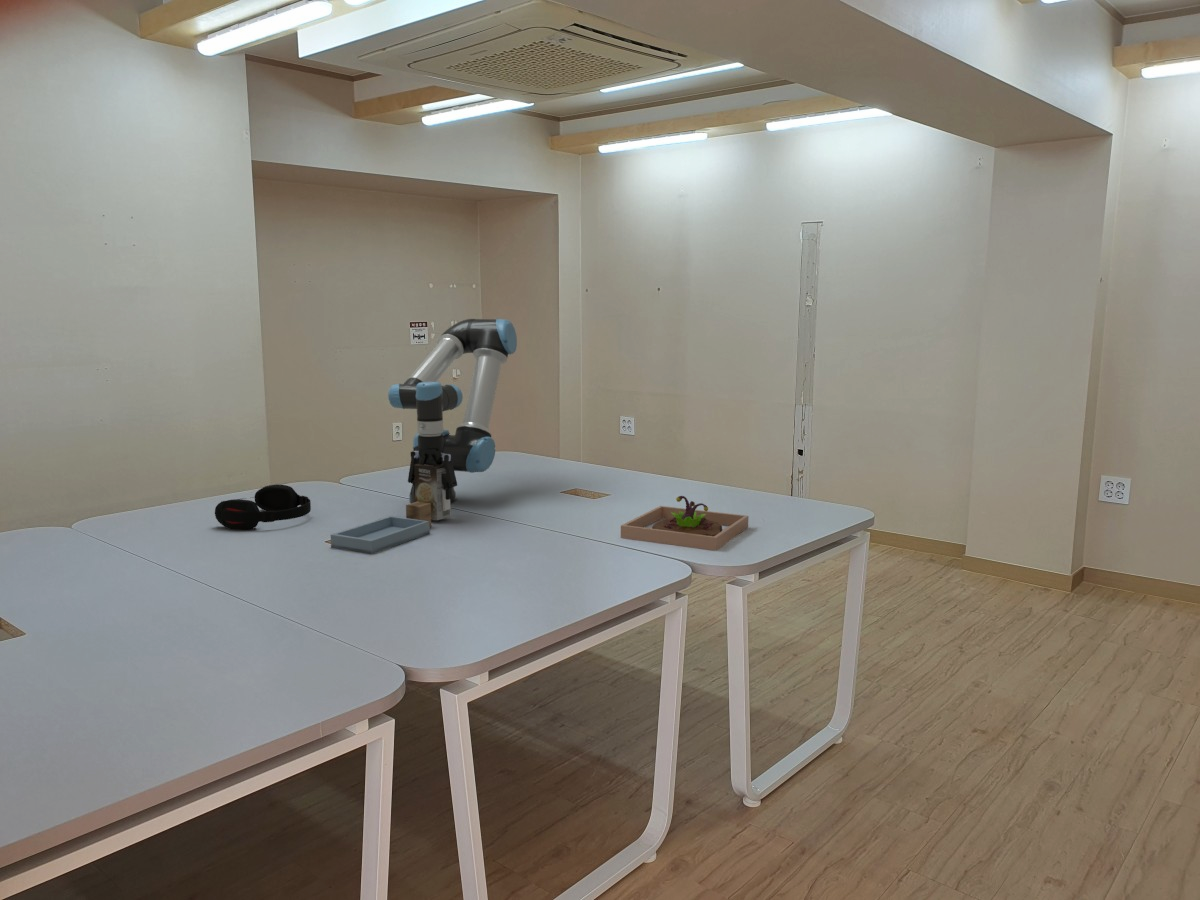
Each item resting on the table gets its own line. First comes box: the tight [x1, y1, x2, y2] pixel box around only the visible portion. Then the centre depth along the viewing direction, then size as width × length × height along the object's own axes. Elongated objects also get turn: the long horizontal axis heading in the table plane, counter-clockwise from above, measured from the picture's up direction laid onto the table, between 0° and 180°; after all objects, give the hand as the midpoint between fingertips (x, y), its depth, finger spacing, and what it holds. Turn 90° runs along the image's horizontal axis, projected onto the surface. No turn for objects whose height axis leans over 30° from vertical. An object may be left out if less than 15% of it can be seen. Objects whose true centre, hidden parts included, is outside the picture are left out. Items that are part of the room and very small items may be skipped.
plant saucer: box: [620, 505, 749, 551], centre depth 249 cm, size 28×28×4 cm
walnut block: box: [405, 502, 432, 528], centre depth 253 cm, size 5×5×7 cm
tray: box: [330, 515, 431, 555], centre depth 240 cm, size 14×24×4 cm, turn 153°
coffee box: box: [414, 464, 452, 521], centre depth 262 cm, size 9×6×16 cm
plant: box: [651, 495, 723, 536], centre depth 248 cm, size 20×20×11 cm
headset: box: [214, 484, 312, 531], centre depth 262 cm, size 28×26×9 cm
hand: (433, 507), depth 263 cm, fingers closed on coffee box, 9 cm apart
